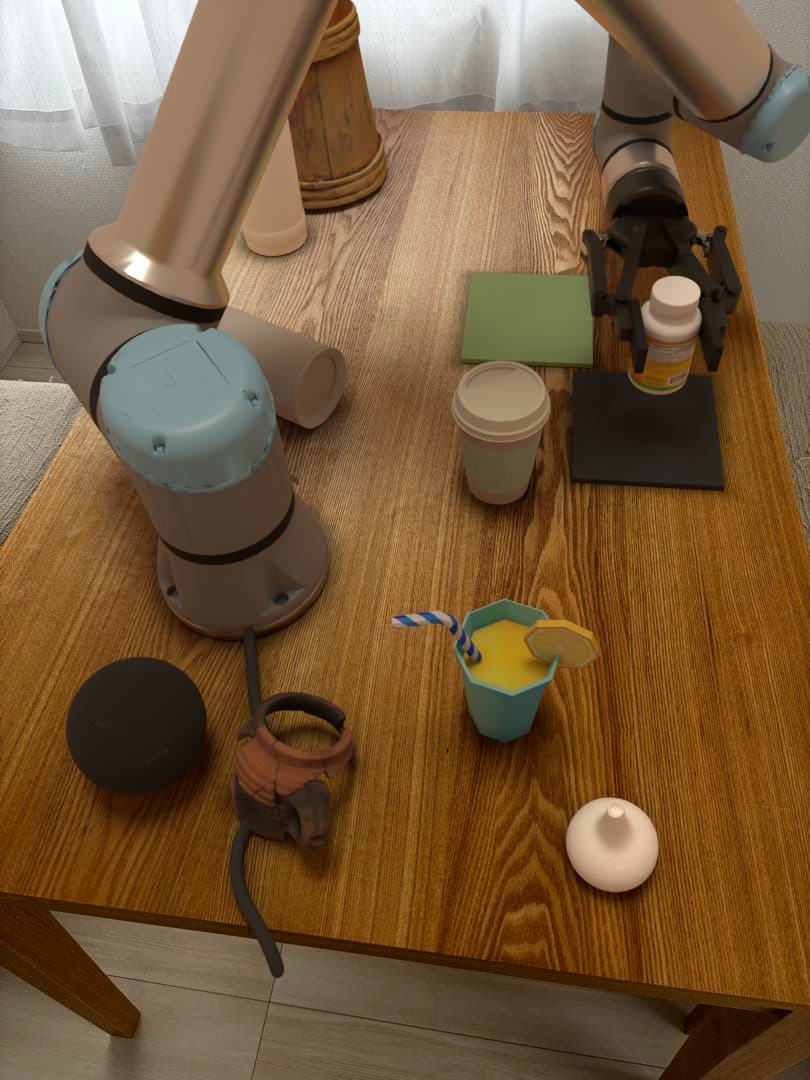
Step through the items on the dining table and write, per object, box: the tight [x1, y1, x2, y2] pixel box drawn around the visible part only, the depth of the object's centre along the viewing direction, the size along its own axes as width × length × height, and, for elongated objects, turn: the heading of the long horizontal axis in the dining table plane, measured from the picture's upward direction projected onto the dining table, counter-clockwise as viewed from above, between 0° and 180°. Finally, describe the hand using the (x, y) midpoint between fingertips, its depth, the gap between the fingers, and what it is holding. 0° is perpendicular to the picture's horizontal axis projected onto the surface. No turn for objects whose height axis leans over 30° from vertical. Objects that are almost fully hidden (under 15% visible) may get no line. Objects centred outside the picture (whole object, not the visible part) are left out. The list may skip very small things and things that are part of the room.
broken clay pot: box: [229, 691, 358, 852], centre depth 64 cm, size 12×10×8 cm
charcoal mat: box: [571, 369, 726, 491], centre depth 86 cm, size 15×14×1 cm
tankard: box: [288, 0, 388, 210], centre depth 109 cm, size 18×24×25 cm
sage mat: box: [460, 271, 594, 369], centre depth 97 cm, size 15×14×1 cm
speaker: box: [65, 656, 208, 795], centre depth 64 cm, size 10×10×10 cm
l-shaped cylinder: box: [217, 304, 347, 429], centre depth 88 cm, size 18×11×20 cm
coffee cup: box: [450, 360, 552, 506], centre depth 78 cm, size 8×8×12 cm
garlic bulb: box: [565, 797, 659, 893], centre depth 59 cm, size 6×6×8 cm
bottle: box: [241, 118, 308, 257], centre depth 97 cm, size 8×8×30 cm
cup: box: [391, 598, 601, 744], centre depth 63 cm, size 14×8×15 cm, turn 90°
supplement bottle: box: [627, 275, 702, 395], centre depth 77 cm, size 5×5×10 cm
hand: (678, 360), depth 72 cm, fingers closed on supplement bottle, 5 cm apart
